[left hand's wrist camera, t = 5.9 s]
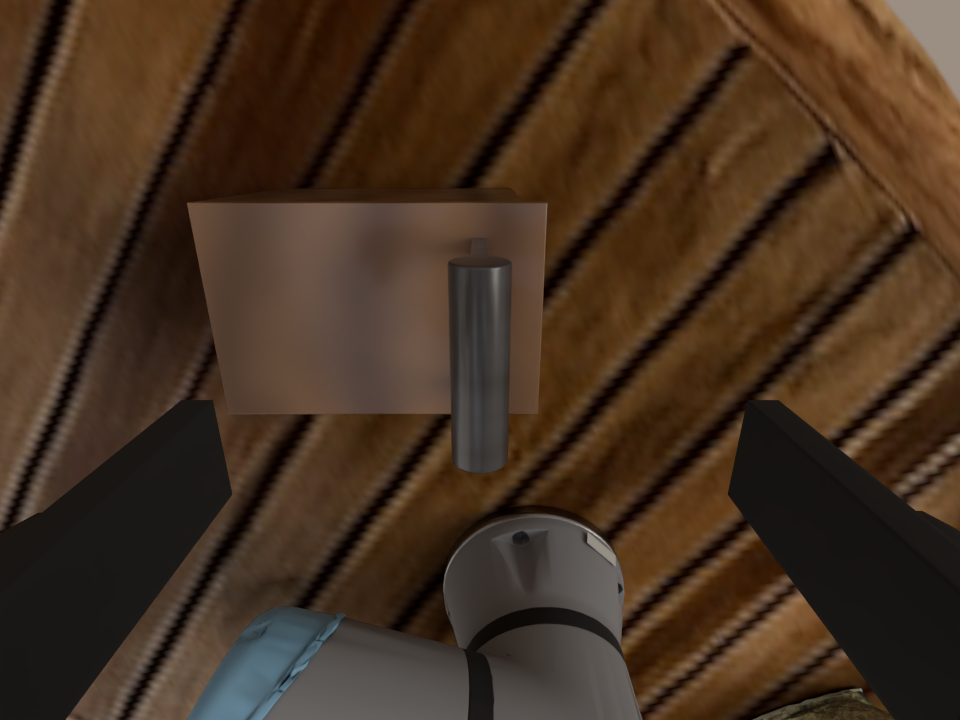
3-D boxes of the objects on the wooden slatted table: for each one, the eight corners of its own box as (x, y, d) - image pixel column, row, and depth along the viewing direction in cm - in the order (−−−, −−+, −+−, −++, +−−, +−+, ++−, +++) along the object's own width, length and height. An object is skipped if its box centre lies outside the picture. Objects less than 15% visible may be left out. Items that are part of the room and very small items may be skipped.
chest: (511, 188, 34) (525, 200, 23) (508, 337, 37) (519, 404, 27) (284, 188, 34) (199, 200, 23) (304, 337, 37) (238, 404, 27)
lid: (544, 200, 23) (578, 221, 15) (535, 404, 27) (559, 505, 19) (199, 200, 23) (55, 221, 15) (237, 404, 27) (137, 505, 19)
